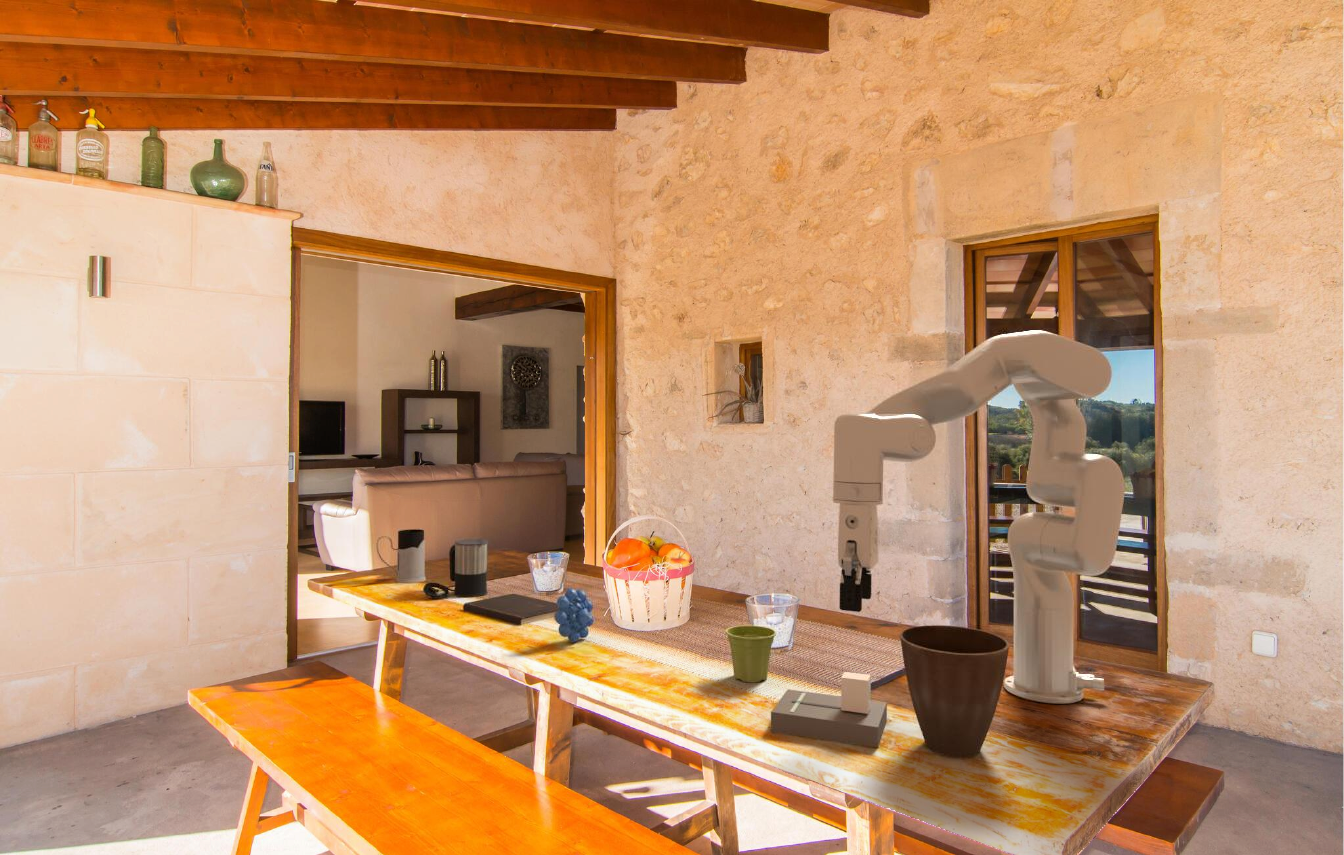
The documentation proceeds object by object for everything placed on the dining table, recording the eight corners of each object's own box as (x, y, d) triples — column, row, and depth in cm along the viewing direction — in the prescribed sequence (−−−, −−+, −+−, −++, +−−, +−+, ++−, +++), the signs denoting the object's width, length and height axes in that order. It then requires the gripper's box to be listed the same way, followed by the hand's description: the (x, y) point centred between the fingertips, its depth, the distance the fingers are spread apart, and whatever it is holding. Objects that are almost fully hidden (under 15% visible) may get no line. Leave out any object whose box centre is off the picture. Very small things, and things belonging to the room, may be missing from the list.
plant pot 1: (724, 669, 149) (724, 624, 149) (773, 670, 148) (773, 624, 148) (726, 685, 139) (726, 637, 139) (778, 686, 139) (778, 638, 139)
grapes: (570, 651, 160) (570, 594, 160) (547, 646, 164) (547, 589, 164) (607, 639, 169) (607, 584, 169) (584, 634, 173) (584, 581, 173)
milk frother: (494, 592, 218) (495, 539, 218) (457, 603, 203) (457, 547, 203) (454, 587, 224) (454, 536, 224) (415, 598, 209) (416, 544, 209)
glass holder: (426, 582, 232) (426, 532, 232) (375, 585, 227) (375, 534, 227) (426, 576, 240) (426, 528, 240) (377, 579, 235) (377, 530, 235)
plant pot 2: (1029, 768, 106) (1030, 652, 106) (924, 772, 104) (924, 654, 104) (978, 726, 121) (978, 624, 121) (884, 729, 119) (885, 625, 119)
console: (886, 721, 123) (886, 701, 123) (878, 747, 112) (878, 726, 112) (787, 707, 129) (787, 688, 129) (770, 731, 118) (770, 711, 118)
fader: (870, 707, 120) (870, 674, 120) (867, 713, 117) (867, 680, 117) (844, 703, 121) (844, 671, 121) (841, 710, 118) (841, 677, 118)
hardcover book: (513, 601, 208) (513, 593, 208) (571, 615, 193) (571, 606, 193) (462, 612, 196) (462, 603, 196) (520, 627, 181) (520, 618, 181)
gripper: (874, 498, 110) (872, 618, 110) (889, 491, 126) (887, 596, 126) (822, 496, 113) (820, 613, 113) (843, 489, 129) (841, 591, 129)
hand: (855, 604), depth 120 cm, fingers open, 9 cm apart
